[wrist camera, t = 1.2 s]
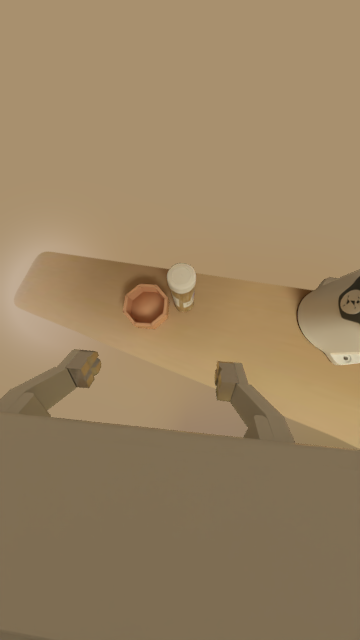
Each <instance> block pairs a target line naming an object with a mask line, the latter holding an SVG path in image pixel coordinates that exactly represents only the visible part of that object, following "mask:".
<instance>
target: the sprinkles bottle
mask: <svg viewBox="0 0 360 640" xmlns="http://www.w3.org/2000/svg"><path fill="white" fill-rule="evenodd" d="M167 282H168V285H169V287H170V289H171V293H172V296H173V300H174V303H175V307H176V308H177V309H178V310H179V311H181V312H187V311H189V310H191V309H192V307H193V305H194V286H195V283H196V273H195V271H194V269H193V268H192V267H191V266H190V265H188V264H185V263H179V264H175V265H173V266H172V267H171V268H170V269H169V271H168V273H167Z"/></svg>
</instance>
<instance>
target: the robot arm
mask: <svg viewBox="0 0 360 640" xmlns="http://www.w3.org/2000/svg"><path fill="white" fill-rule="evenodd" d="M298 322H299V326H300V328H301V330H302V332H303V334H304V335H305V337H306V338H307V339H308V340H309V341H310V342H311V343H312V344H313V345H314V346H316V347H317V348H319V349H320V350H322V351H323V352H324V353H325V354H326V356H327V357H328V358H329V360H330V361H331V362H332V363H333V364H335V365H347V364H356V363H360V270H357V271H354V272H352V273H350V274H347V275H345V276H342V277H340V278H338V279H337V278H331V277H330V278H327V279H324V280H323V281H322V282H321V284H320V285H319V287H318V288H317V289H316V290H314V291H312V292H310V293H309V294H308V295H306V296H305V297H304V298H303V300H302V301H301V303H300V305H299V309H298ZM98 356H99V355H98V352H95V351H87V350H77V349H74V350H72V351H71V352H70V353H69V354H68V356H67V357H66V358H65V359H64V360H63V361H62V362H61V363H60V364H59V365H58V367H54V368H52V369H50V370H48V371H46V372H44V373H42V374H40V375H38V376H36V377H34V378H33V379H30V380H29V381H27V382H25V383H23V384H21V385H19V386H17V387H15V388H13V389H11V390H9V391H8V392H7V393H6V394H5V395H4V396H3V397H2V398H1V399H0V640H360V450H355V449H345V448H336V447H327V446H317V445H308V444H299V443H295V441H294V439H293V437H292V434H291V432H290V430H289V427H288V425H287V423H286V421H285V418H284V417H283V416H282V415H281V414H280V413H279V412H278V411H277V410H276V409H275V408H274V407H273V406H272V405H271V404H270V403H269V402H268V401H267V400H266V399H265V398H264V397H263V396H262V395H261V394H260V393H259V392H258V391H257V390H256V389H255V388H254V387H253V386H252V385H249V384H248V381H247V378H246V375H245V372H244V369H243V365H242V364H241V363H234V362H220V361H218V362H217V369H216V370H215V385H216V386H217V387H216V397H217V400H220V401H228V402H231V404H232V406H233V407H234V408H235V410H236V411H237V413H238V414H239V415H240V417H241V418H242V420H243V421H244V423H245V424H246V426H247V427H248V430H247V431H246V433H245V435H244V437H243V438H242V437H232V436H222V435H214V434H213V435H212V434H204V433H193V432H185V431H176V430H166V429H157V428H148V427H139V426H128V425H120V424H110V423H100V422H91V421H82V420H71V419H62V418H53V417H51V415H50V414H49V413H48V412H47V410H48V409H50V408H51V407H52V406H54V405H55V404H56V403H58V402H59V401H60V400H61V399H63V398H64V397H65V396H66V395H68V394H69V393H70V392H72V391H73V390H74V389H75V388H76V387H82V388H89V387H90V386H91V384H92V382H93V381H94V376H95V375H97V374H98V373H99V371H100V368H101V361H100V359H98V358H97V357H98ZM344 358H345V360H344Z"/></svg>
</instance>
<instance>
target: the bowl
mask: <svg viewBox="0 0 360 640" xmlns="http://www.w3.org/2000/svg"><path fill="white" fill-rule="evenodd" d="M169 303H170V302H169V300H168V297H167V296H166V295H165V294H164V293H163V292H162V290H161V289H160V288H159V287H158V286H157V285H151V284H139V285H137V286H136V287H135V288H134V289H132V290H131V291H130V292H129V293H127V294H126V295H125V302H124V308H123V313H124V314H125V315H126V316H127V318H128V319H129V320H130V321H131V323H132V324H133V325H134V326H136V327H138V328H146V329H156V328H157V327H158V326H159V325H161V324H162V323H163V322H164V321H165V320H167V319H168V314H169Z"/></svg>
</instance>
